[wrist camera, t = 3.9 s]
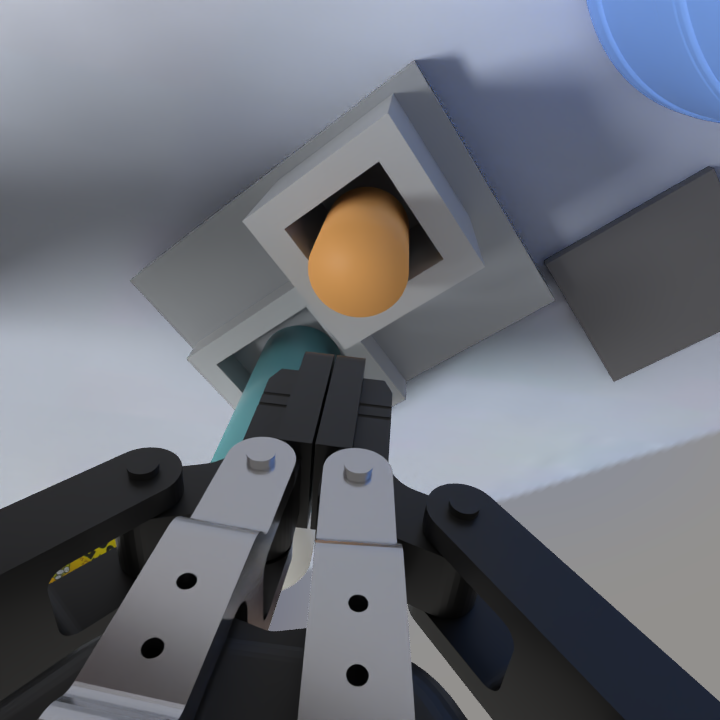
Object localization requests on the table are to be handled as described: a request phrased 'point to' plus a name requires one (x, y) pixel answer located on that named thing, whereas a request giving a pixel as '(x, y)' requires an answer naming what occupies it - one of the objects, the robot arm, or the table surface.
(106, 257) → the table surface
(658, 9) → the water jug
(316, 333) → the cylinder
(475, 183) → the housing
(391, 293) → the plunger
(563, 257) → the mat
